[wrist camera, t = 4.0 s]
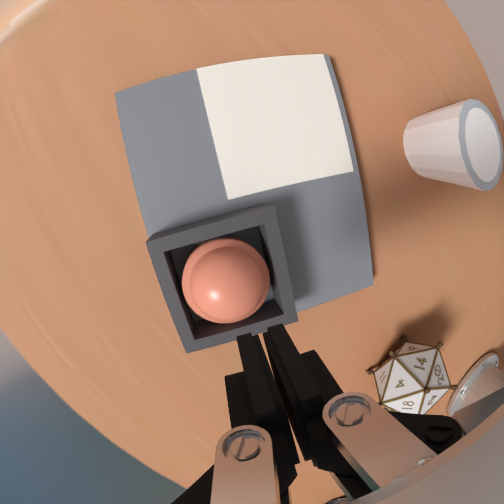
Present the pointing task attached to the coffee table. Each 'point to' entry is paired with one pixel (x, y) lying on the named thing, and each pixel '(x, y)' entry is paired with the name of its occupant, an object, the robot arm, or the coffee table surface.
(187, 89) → the board
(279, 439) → the robot arm
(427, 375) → the game die
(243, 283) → the dome
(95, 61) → the coffee table surface
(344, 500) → the mineral rock
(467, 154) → the shot glass
